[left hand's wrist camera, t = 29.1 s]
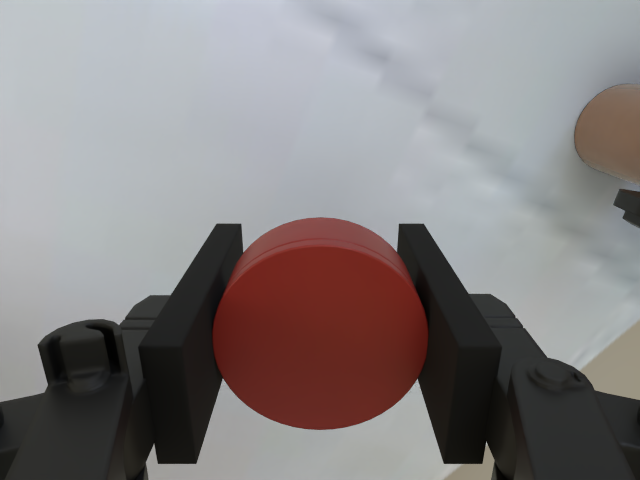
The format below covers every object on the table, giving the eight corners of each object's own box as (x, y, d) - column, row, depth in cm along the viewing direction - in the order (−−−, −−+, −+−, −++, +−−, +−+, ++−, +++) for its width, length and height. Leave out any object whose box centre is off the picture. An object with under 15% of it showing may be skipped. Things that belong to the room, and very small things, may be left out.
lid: (288, 406, 13) (283, 457, 11) (189, 273, 12) (167, 309, 10) (443, 335, 12) (463, 379, 11) (359, 180, 11) (366, 203, 9)
